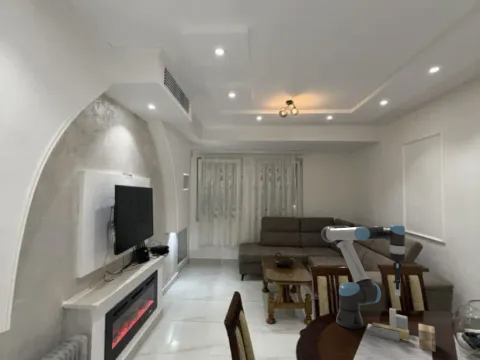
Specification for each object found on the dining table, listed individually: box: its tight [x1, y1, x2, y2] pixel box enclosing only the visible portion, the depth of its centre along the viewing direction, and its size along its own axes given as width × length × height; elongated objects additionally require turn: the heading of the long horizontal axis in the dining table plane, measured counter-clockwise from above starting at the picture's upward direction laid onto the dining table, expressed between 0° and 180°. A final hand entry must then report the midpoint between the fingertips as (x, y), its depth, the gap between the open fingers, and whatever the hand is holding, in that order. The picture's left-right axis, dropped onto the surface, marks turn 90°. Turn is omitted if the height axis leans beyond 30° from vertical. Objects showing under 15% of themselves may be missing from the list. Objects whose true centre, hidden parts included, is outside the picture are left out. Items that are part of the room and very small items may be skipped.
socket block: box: [418, 323, 436, 353], centre depth 151 cm, size 7×9×9 cm
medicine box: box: [396, 313, 409, 330], centre depth 168 cm, size 8×4×9 cm, turn 47°
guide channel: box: [369, 321, 401, 343], centre depth 161 cm, size 14×7×5 cm, turn 59°
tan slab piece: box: [371, 307, 410, 342], centre depth 160 cm, size 18×4×14 cm, turn 59°
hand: (397, 291), depth 162 cm, fingers open, 13 cm apart
